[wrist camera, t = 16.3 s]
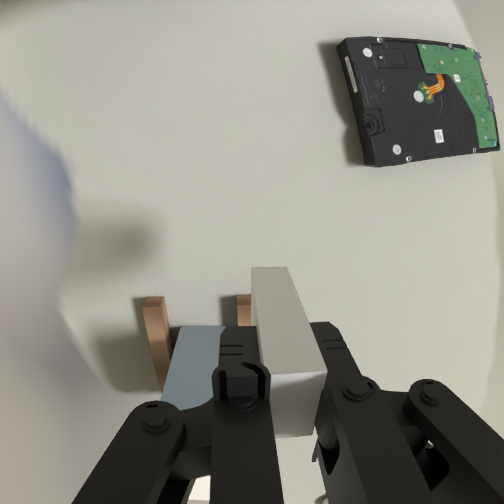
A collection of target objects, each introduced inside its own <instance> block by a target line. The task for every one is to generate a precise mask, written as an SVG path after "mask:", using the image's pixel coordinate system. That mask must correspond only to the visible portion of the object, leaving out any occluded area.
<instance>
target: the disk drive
mask: <svg viewBox="0 0 504 504" xmlns="http://www.w3.org/2000/svg"><path fill="white" fill-rule="evenodd" d="M337 51H338V54H339V57H340V60H341V63H342V67H343V71H344V74H345V78H346V81H347V85H348V90H349V94H350V97H351V101H352V105H353V109H354V114H355V119H356V123H357V127H358V132H359V136H360V141H361V144H362V150H363V156H364V161H365V165H366V166H370V167H383V166H395V165H401V164H405V163H408V162H416V161H423V160H429V159H435V158H443V157H451V156H457V155H466V154H475V153H488V152H491V151H499V150H500V143H499V135H498V128H497V122H496V116H495V112H494V104H493V100H492V97H491V96H489V90H488V86H487V85H488V84H486V82H485V81H486V78H485V75H484V71H483V67H482V64H481V62H480V61H479V58H481V56H480V54H479V53H478V52H475V50H474V49H473V48H468V47H466V46H464V45H460V44H451V43H444V42H437V41H430V40H429V41H428V40H419V39H405V38H391V37H371V36H368V37H367V36H365V37H347V38H345V39H344V40H343V41H342V42H341V43H340V44H339V45H338V46H337Z"/></svg>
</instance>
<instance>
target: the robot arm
mask: <svg viewBox="0 0 504 504" xmlns="http://www.w3.org/2000/svg"><path fill="white" fill-rule="evenodd" d="M211 379H212V389H213V397H212V398H211V399H210V400H209V401H208V402H206V403H204V404H202V405H200V406H197V407H194V408H189V409H184V410H179V409H178V408H177V407H176V406H175V405H173V404H170V403H168V402H165V401H150V402H145V403H143V404H141V405H139V406H137V407H136V408H135V409H134V410H133V411H132V412H131V413H130V414H129V416H128V417H127V419H126V420H125V422H124V424H123V425H122V427H121V428H120V430H119V431H118V433H117V434H116V436H115V437H114V439H113V440H112V442H111V443H110V445H109V446H108V448H107V449H106V451H105V452H104V454H103V456H102V457H101V459H100V460H99V462H98V463H97V465H96V466H95V468H94V469H93V471H92V473H91V474H90V476H89V477H88V479H87V480H86V482H85V483H84V485H83V486H82V488H81V490H80V491H79V493H78V494H77V496H76V497H75V499H74V501H73V502H72V504H187V501H188V499H189V496H190V494H191V491H192V489H193V486H194V484H195V481H196V478H201V477H205V476H209V475H210V502H209V504H284V500H283V492H282V485H281V478H280V471H279V464H278V457H277V450H276V442H275V438H288V437H299V436H308V435H312V434H313V430H314V427H316V431H317V435H318V439H317V442H316V445H315V448H314V452H313V455H312V462H316V459H317V456H318V461H319V465H320V469H321V473H322V477H323V482H324V486H325V490H326V494H327V499H328V503H329V504H504V439H502V437H500V436H499V435H498V434H497V433H496V432H495V431H494V430H493V429H492V428H491V427H490V426H489V425H488V424H487V423H486V422H485V421H484V420H482V419H481V418H480V417H479V416H478V415H477V414H476V413H475V412H474V411H473V410H472V409H471V408H470V407H468V406H467V405H466V404H465V403H464V402H463V401H462V400H461V399H460V398H459V397H458V396H456V395H455V394H454V393H453V392H452V391H451V390H450V389H449V388H448V387H447V386H445V385H444V384H442V383H441V382H439V381H435V380H432V379H422V380H419V381H416V382H415V383H413V384H412V385H411V387H410V389H409V392H395V391H385V390H381V389H380V387H379V386H378V385H377V384H376V383H375V381H373V380H371V379H370V378H368V377H366V376H362V375H361V373H360V371H359V369H358V367H357V365H356V363H355V361H354V359H353V357H352V355H351V353H350V351H349V349H348V348H347V345H346V343H345V341H344V340H343V337H342V335H341V333H340V331H339V330H338V329H337V328H336V327H335V326H334V325H332V324H331V323H330V322H313V323H309V321H308V319H307V316H306V314H305V311H304V309H303V306H302V304H301V301H300V299H299V296H298V294H297V291H296V289H295V286H294V284H293V281H292V279H291V276H290V274H289V271H288V269H287V267H251V326H227V327H226V328H225V329H224V331H223V332H222V333H221V334H220V347H219V361H218V366H217V367H216V368H215V369H214V371H213V374H212V376H211ZM428 441H430V442H431V443H432V444H433V445H431V444H429V443H428Z"/></svg>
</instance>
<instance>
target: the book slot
mask: <svg viewBox="0 0 504 504" xmlns="http://www.w3.org/2000/svg"><path fill="white" fill-rule="evenodd" d="M142 311H143V316H144V321H145V326H146V330H147V335H148V340H149V344H150V348H151V353H152V357H153V361H154V365H155V369H156V373H157V376H158V380H159V384H160V388H161V391H162V393H163V389H164V385H165V382H166V378H167V374H168V370H169V367H170V363H171V359H172V356H173V352H174V350H173V345H172V339H171V334H170V328H169V322H168V316H167V310H166V304H165V297H147V299H146V300H145V302H144V304H143V306H142ZM237 315H238V326H251V295H237Z"/></svg>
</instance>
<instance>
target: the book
mask: <svg viewBox="0 0 504 504" xmlns="http://www.w3.org/2000/svg"><path fill="white" fill-rule="evenodd" d="M226 327H227V326H181V328H180V331H179V335H178V338H177V342H176V345H175V349H174V352H173V356H172V359H171V363H170V367H169V370H168V374H167V378H166V382H165V385H164V389H163V393H162V397H161V401H165V402H168V403H170V404H173V405H175V406H176V407H177V408H178V409H179V410H184V409H189V408H194V407H197V406H200V405H202V404H204V403H206V402H208V401H209V400H210V399H211V398H212V397H213V389H212V379H211V376H212V374H213V371H214V369H215V368H216V367H217V366H218V361H219V347H220V334H221V333H222V332H223V331H224V329H225V328H226ZM189 499H190V500H210V475H209V476H205V477H201V478H196V481H195V484H194V486H193V489H192V491H191V494H190V496H189Z"/></svg>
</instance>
